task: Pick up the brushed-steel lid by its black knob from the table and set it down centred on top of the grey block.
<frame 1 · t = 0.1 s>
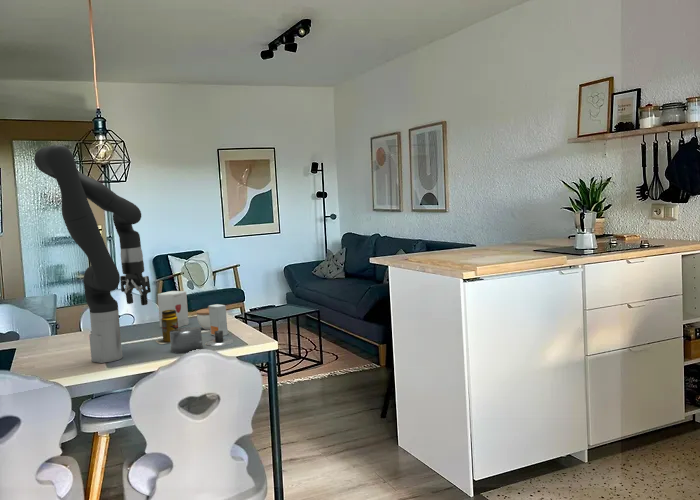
hand: (137, 304, 222), 17 cm above the table, tool pointing down, fingers open, 8 cm apart
skincare box: (219, 335, 244), on the table
lid: (219, 343, 229), on the table
lidded jar: (210, 328, 258), on the table
condiment: (168, 341, 237), on the table
grey block: (187, 349, 222), on the table
supplement box: (174, 326, 268), on the table
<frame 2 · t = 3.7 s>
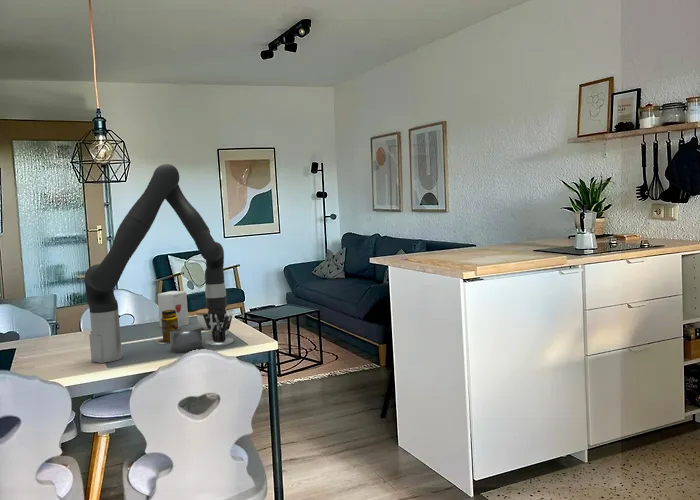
hand: (219, 340, 229), 1 cm above the table, tool pointing down, fingers closed on lid, 3 cm apart
lid: (219, 342, 229), on the table, touching gripper
everything else where it was.
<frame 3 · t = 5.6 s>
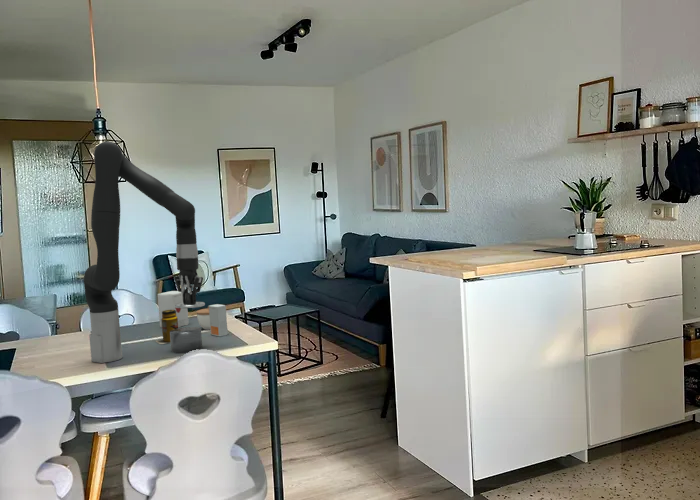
hand: (189, 303, 222), 16 cm above the table, tool pointing down, fingers closed on lid, 3 cm apart
lid: (189, 306, 222), point 16 cm above the table, touching gripper
everything else where it was.
when the fingers open (9 cm above the table, at t = 7.6 s): lid drops 1 cm, resting on grey block.
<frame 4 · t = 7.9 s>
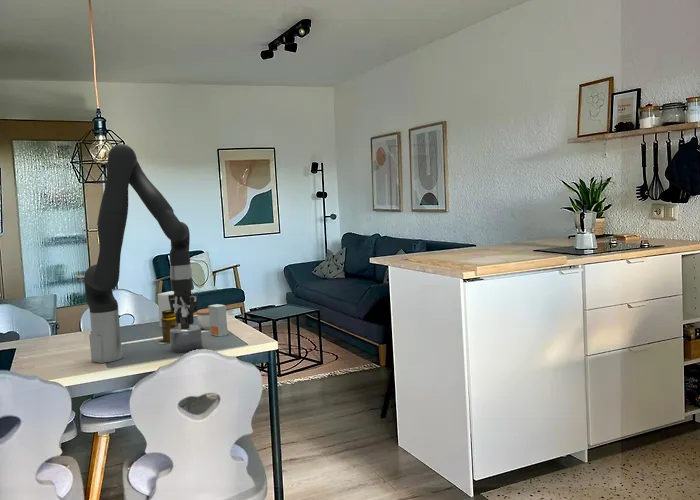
hand: (185, 323, 221), 9 cm above the table, tool pointing down, fingers open, 5 cm apart
lid: (185, 330, 221), point 7 cm above the table, touching grey block
everything else where it was.
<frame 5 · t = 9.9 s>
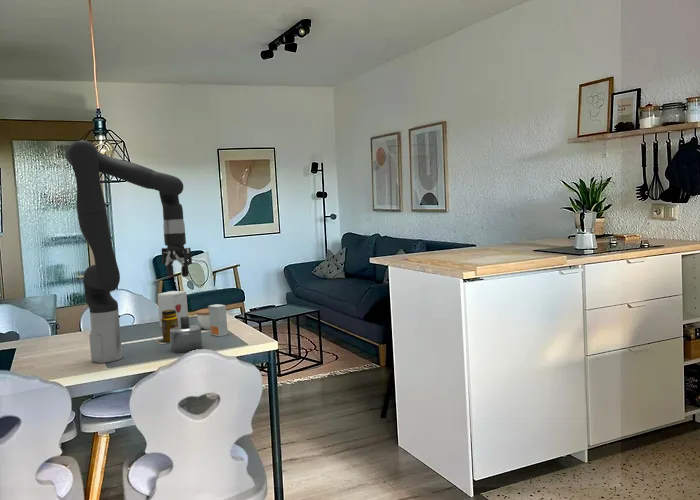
hand: (177, 276, 224), 26 cm above the table, tool pointing down, fingers open, 8 cm apart
nothing on the table moved.
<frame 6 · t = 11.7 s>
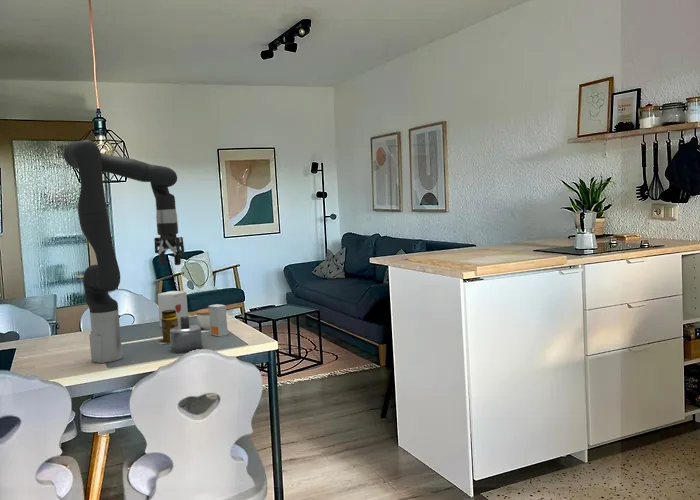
hand: (170, 264, 231), 30 cm above the table, tool pointing down, fingers open, 8 cm apart
nothing on the table moved.
at the end: lid 0.1 cm off-centre on the grey block, point 7.0 cm above the grey block's base; lid tilted 0°; the gripper is holding nothing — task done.
